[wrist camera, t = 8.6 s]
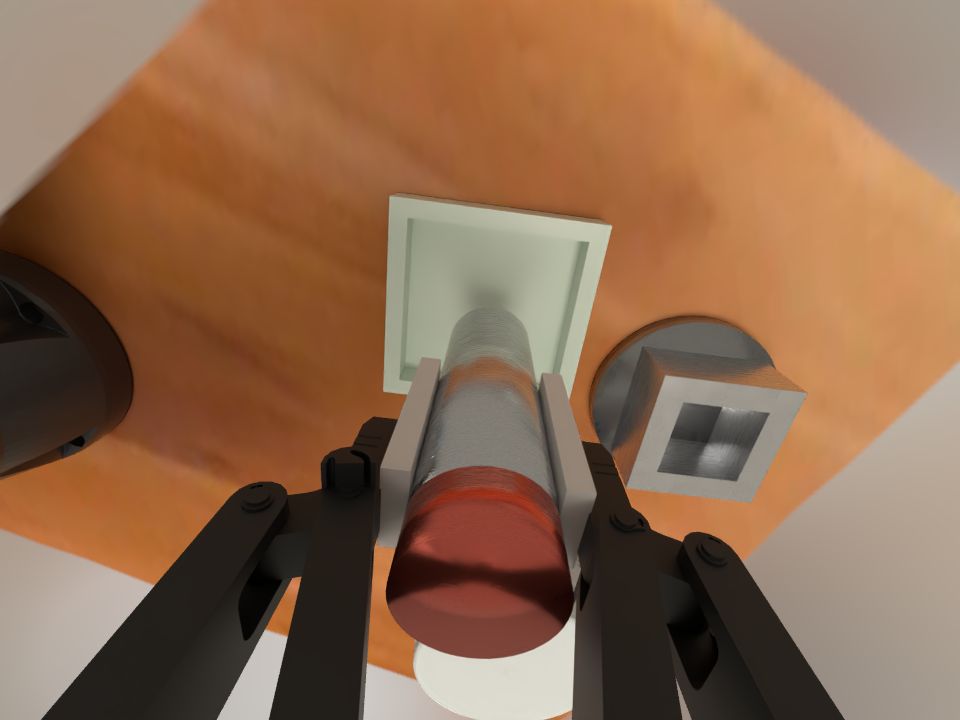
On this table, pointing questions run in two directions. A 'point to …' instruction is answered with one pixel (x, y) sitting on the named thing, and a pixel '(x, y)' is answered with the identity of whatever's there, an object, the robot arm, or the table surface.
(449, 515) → the red capped bottle
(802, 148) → the table surface
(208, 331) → the table surface
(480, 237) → the tray
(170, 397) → the table surface
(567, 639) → the supplement tub
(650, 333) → the grey socket fixture
